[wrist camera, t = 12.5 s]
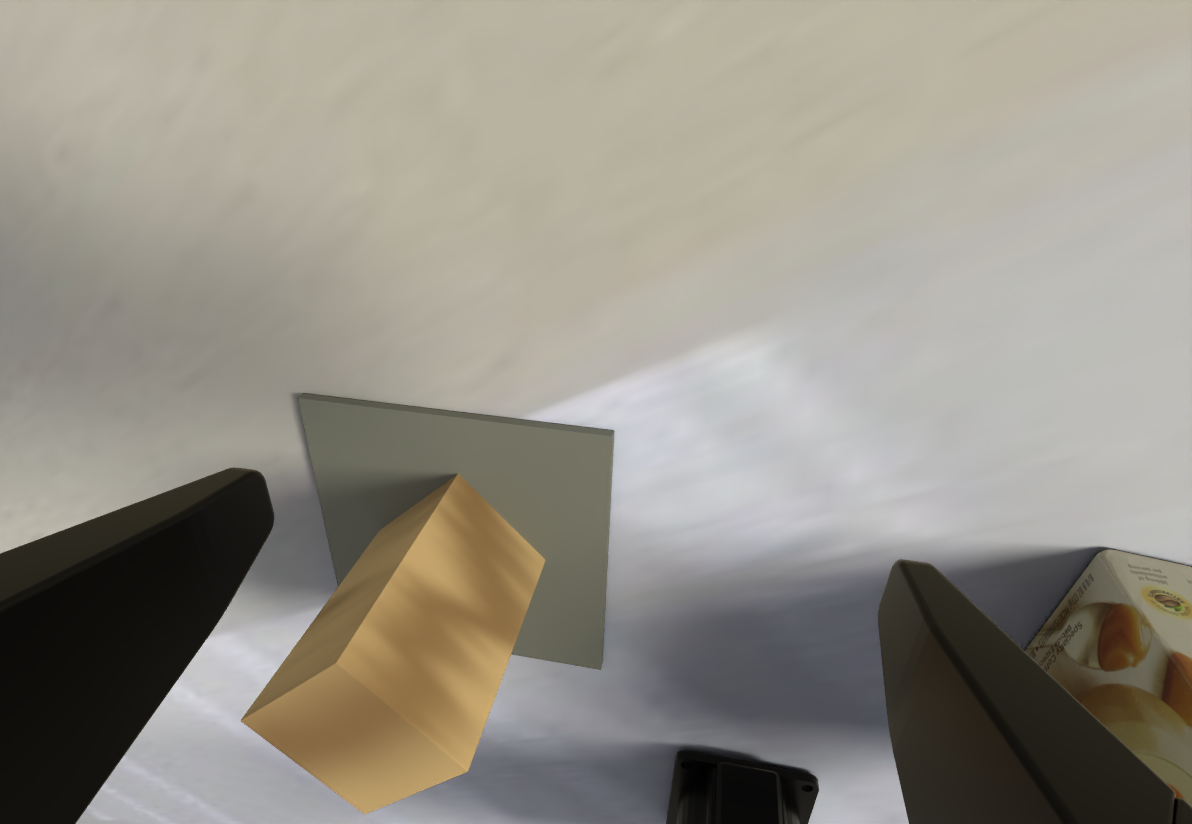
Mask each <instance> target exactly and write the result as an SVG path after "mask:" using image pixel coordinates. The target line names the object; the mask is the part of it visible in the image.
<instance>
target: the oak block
mask: <svg viewBox="0 0 1192 824" xmlns="http://www.w3.org/2000/svg"><path fill="white" fill-rule="evenodd" d="M544 563H545V559H544V558H543V557H542V556H541V555H540V554H539V553H538V552H537V551H536V550H535V549H534V548H533V547H532V546H531V545H530V544H529V543H528V542H527V541H526V540H525V539H524V538H523V537H522V536H521V535H520V534H519V533H518V532H517V531H516V530H515V529H514V528H513V527H512V526H511V525H510V524H509V523H508V522H507V521H506V520H505V519H504V518H503V517H502V516H501V515H500V514H499V513H498V512H497V511H496V510H495V509H494V508H493V507H492V506H491V505H490V504H489V503H487V502H486V501H485V500H484V499H483V498H482V497H481V496H480V495H479V494H478V493H477V492H476V491H475V490H474V489H473V488H472V487H471V486H470V485H469V484H468V483H467V482H466V481H465V480H464V479H463V478H462V477H461V476H460V475H459V474H457V475H455V476H454V477H453V478H451V479H450V480H449V481H447V482H446V483H444V484H443V485H442V486H440V487H439V488H437V489H436V490H435V491H433V492H432V493H431V494H429V495H428V496H426V497H425V498H424V499H422V500H421V501H419V502H418V503H417V504H415V505H414V506H412V507H411V508H410V509H408V510H407V511H406V512H404V513H403V514H401V515H400V516H399V517H397V518H396V519H394V520H393V521H392V522H390V523H389V524H388V525H386V526H385V527H383V528H382V529H381V530H379V532H378V533H377V535H376V536H375V537H374V539H373V540H372V541H371V543H370V544H369V546H368V547H367V548H366V550H365V551H364V552H363V554H362V555H361V556H360V558H359V559H358V561H357V562H356V563H355V565H354V566H353V567H352V569H351V570H350V572H349V573H348V574H347V576H346V577H345V578H344V580H343V581H342V582H341V584H340V585H339V587H338V588H337V589H336V591H335V592H334V593H333V595H332V596H331V598H330V599H329V600H328V602H327V603H326V604H325V606H324V607H323V609H322V610H321V611H320V613H319V614H318V615H317V617H316V618H315V619H314V621H313V622H312V624H311V625H310V626H309V628H308V629H307V630H306V632H305V633H304V635H303V636H302V637H301V639H300V640H299V641H298V643H297V644H296V645H295V647H294V648H293V650H292V651H291V652H290V654H289V655H288V656H287V658H286V659H285V661H284V662H283V663H282V665H281V666H280V667H279V669H278V670H277V672H276V673H275V674H274V676H273V677H272V678H271V680H270V681H269V682H268V684H267V685H266V687H265V688H264V689H263V691H262V692H261V693H260V695H259V696H258V698H257V699H256V700H255V702H254V703H253V704H252V706H251V707H250V708H249V710H248V711H247V713H246V714H245V715H244V717H243V718H242V719H241V722H243V723H244V724H245V725H247V726H248V727H249V728H251V729H252V730H253V731H255V732H256V733H257V734H259V735H260V736H261V737H263V738H264V739H265V740H267V741H268V742H269V743H271V744H272V745H273V746H274V747H276V748H277V749H278V750H280V751H281V752H282V753H284V754H285V755H286V756H288V757H289V758H290V759H292V760H293V761H294V762H296V763H297V764H298V765H300V766H301V767H302V768H304V769H305V770H306V771H308V772H309V773H310V774H312V775H313V776H314V777H316V778H317V779H318V780H320V781H321V782H322V783H324V784H325V785H326V786H328V787H329V788H330V789H331V790H333V791H334V792H335V793H337V794H338V795H339V796H341V797H342V798H343V799H345V800H346V801H347V802H349V803H350V804H351V805H353V806H354V807H355V808H357V809H358V810H359V811H361V812H362V813H363V814H367V813H369V812H372V811H374V810H377V809H379V808H381V807H384V806H386V805H389V804H391V803H393V802H396V801H398V800H401V799H403V798H405V797H408V796H410V795H413V794H415V793H417V792H420V791H422V790H425V789H427V788H430V787H432V786H434V785H437V784H439V783H442V782H444V781H446V780H449V779H451V778H454V777H456V776H458V775H461V774H463V773H466V772H468V770H469V767H470V765H471V762H472V759H473V756H474V754H475V751H476V748H477V746H478V743H479V740H480V737H481V735H482V732H483V729H484V726H485V724H486V721H487V718H488V716H489V713H490V710H491V707H492V705H493V702H494V699H495V697H496V694H497V691H498V688H499V686H500V683H501V680H502V677H503V675H504V672H505V669H506V667H507V664H508V661H509V658H510V656H511V653H512V650H513V647H514V645H515V642H516V639H517V637H518V634H519V631H520V628H521V626H522V623H523V620H524V617H525V615H526V612H527V609H528V607H529V604H530V601H531V598H532V596H533V593H534V590H535V587H536V585H537V582H538V579H539V577H540V574H541V571H542V568H543V566H544Z"/></svg>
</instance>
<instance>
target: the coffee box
mask: <svg viewBox="0 0 1192 824" xmlns="http://www.w3.org/2000/svg"><path fill="white" fill-rule="evenodd" d="M1025 652H1026V653H1027V654H1028V655H1029V656H1030V657H1031V658H1033V659H1034V660H1035V661H1036V662H1037V663H1038V664H1039V665H1040V666H1041V667H1042V668H1043V669H1044V670H1045V671H1046V672H1048V673H1049V674H1050V675H1051V676H1052V677H1053V678H1054V679H1055V680H1056V681H1057V682H1058V683H1059V684H1060V685H1061V686H1063V687H1064V688H1065V689H1066V690H1067V691H1068V692H1069V693H1070V694H1071V695H1072V696H1073V697H1074V698H1075V699H1076V700H1078V701H1079V702H1080V703H1081V704H1082V705H1083V706H1084V707H1085V708H1086V709H1087V710H1088V711H1089V712H1090V713H1091V714H1093V715H1094V716H1095V717H1096V718H1097V719H1098V720H1099V721H1100V722H1101V723H1102V724H1103V725H1104V726H1105V727H1106V728H1108V729H1109V730H1110V731H1111V732H1112V733H1113V734H1114V735H1115V736H1116V737H1117V738H1118V739H1119V740H1120V741H1121V742H1123V743H1124V744H1125V745H1126V746H1127V747H1128V748H1129V749H1130V750H1131V751H1132V752H1133V753H1134V754H1135V755H1136V756H1138V757H1139V758H1140V759H1141V760H1142V761H1143V762H1144V763H1145V764H1146V765H1147V766H1148V767H1149V768H1150V769H1151V770H1153V771H1154V772H1155V773H1156V774H1157V775H1158V776H1159V777H1160V778H1161V779H1162V780H1163V781H1164V782H1165V783H1166V784H1168V785H1169V786H1170V787H1171V788H1172V789H1173V790H1174V791H1175V794H1176V798H1182V799H1184V800H1185V801H1186V802H1187V803H1188V804H1189V805H1190V806H1191V807H1192V567H1190V566H1186V565H1181V564H1177V563H1172V562H1168V561H1163V560H1159V559H1154V558H1149V557H1145V556H1140V555H1136V554H1131V553H1127V552H1122V551H1117V550H1108V549H1107V550H1104V551H1102V552H1099V553H1098V554H1097V555H1096V556H1095V557H1094V559H1093V560H1092V561H1091V563H1090V564H1089V565H1088V567H1087V568H1086V569H1085V571H1084V572H1083V573H1082V575H1081V576H1080V577H1079V579H1078V580H1077V581H1076V583H1075V584H1074V585H1073V587H1072V588H1071V589H1070V591H1069V592H1068V593H1067V595H1066V596H1065V597H1064V599H1063V600H1062V602H1061V603H1060V604H1059V606H1058V607H1057V608H1056V610H1055V611H1054V612H1053V614H1052V615H1051V616H1050V618H1049V619H1048V620H1047V622H1046V623H1045V624H1044V626H1043V627H1042V628H1041V630H1040V631H1039V632H1038V634H1037V635H1036V636H1035V638H1034V639H1033V640H1032V642H1031V643H1030V645H1029V646H1028V647H1027V649H1026V650H1025ZM1176 798H1175V799H1176Z"/></svg>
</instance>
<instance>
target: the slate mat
mask: <svg viewBox="0 0 1192 824" xmlns="http://www.w3.org/2000/svg"><path fill="white" fill-rule="evenodd" d="M298 402H299V407H300V411H301V416H302V420H303V425H304V430H305V434H306V439H307V444H308V448H309V453H310V458H311V462H312V467H313V472H314V476H315V481H316V486H317V490H318V495H319V500H320V504H321V509H322V514H323V518H324V523H325V527H326V532H327V537H328V541H329V546H330V551H331V555H332V560H333V565H334V569H335V574H336V579H337V583H338V587H339V585H340V584H341V582H342V581H343V580H344V578H345V577H346V576H347V574H348V573H349V572H350V570H351V569H352V567H353V566H354V565H355V563H356V562H357V561H358V559H359V558H360V556H361V555H362V554H363V552H364V551H365V550H366V548H367V547H368V546H369V544H370V543H371V541H372V540H373V539H374V537H375V536H376V535H377V533H378V532H379V530H381V529H382V528H383V527H385V526H386V525H388V524H389V523H390V522H392V521H393V520H394V519H396V518H397V517H399V516H400V515H401V514H403V513H404V512H406V511H407V510H408V509H410V508H411V507H412V506H414V505H415V504H417V503H418V502H419V501H421V500H422V499H424V498H425V497H426V496H428V495H429V494H431V493H432V492H433V491H435V490H436V489H437V488H439V487H440V486H442V485H443V484H444V483H446V482H447V481H449V480H450V479H451V478H453V477H454V476H455V475H457V474H459V475H460V476H461V477H462V478H463V479H464V480H465V481H466V482H467V483H468V484H469V485H470V486H471V487H472V488H473V489H474V490H475V491H476V492H477V493H478V494H479V495H480V496H481V497H482V498H483V499H484V500H485V501H486V502H487V503H489V504H490V505H491V506H492V507H493V508H494V509H495V510H496V511H497V512H498V513H499V514H500V515H501V516H502V517H503V518H504V519H505V520H506V521H507V522H508V523H509V524H510V525H511V526H512V527H513V528H514V529H515V530H516V531H517V532H518V533H519V534H520V535H521V536H522V537H523V538H524V539H525V540H526V541H527V542H528V543H529V544H530V545H531V546H532V547H533V548H534V549H535V550H536V551H537V552H538V553H539V554H540V555H541V556H542V557H543V558H544V559H545V563H544V566H543V568H542V571H541V574H540V577H539V579H538V582H537V585H536V587H535V590H534V593H533V596H532V598H531V601H530V604H529V607H528V609H527V612H526V615H525V617H524V620H523V623H522V626H521V628H520V631H519V634H518V637H517V639H516V642H515V645H514V647H513V650H512V653H511V654H513V655H519V656H524V657H530V658H536V659H542V660H548V661H553V662H559V663H565V664H571V665H576V666H582V667H588V668H594V669H600V670H601V667H602V660H603V641H604V622H605V602H606V583H607V564H608V544H609V525H610V506H611V486H612V467H613V447H614V431H613V430H604V429H596V428H588V427H579V426H571V425H563V424H554V423H546V422H538V421H529V420H521V419H513V418H504V417H496V416H488V415H479V414H471V413H463V412H455V411H446V410H438V409H430V408H421V407H413V406H405V405H396V404H388V403H380V402H371V401H363V400H355V399H346V398H338V397H330V396H321V395H313V394H305V393H303V394H302V395H301V396H300V397H299V398H298Z"/></svg>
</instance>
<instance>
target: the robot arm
mask: <svg viewBox="0 0 1192 824" xmlns="http://www.w3.org/2000/svg"><path fill="white" fill-rule="evenodd" d="M273 524H274V512H273V508H272V504H271V500H270V496H269V493H268V489H267V485H266V481H265V478H264V476H263V475H262V474H261V473H260V472H259V471H256V470H251V469H244V468H229V469H226V470H223V471H221V472H218V473H215V474H213V475H210V476H207V477H205V478H202V479H199V480H197V481H194V482H191V483H189V484H186V485H183V486H181V487H178V488H175V489H172V490H170V491H167V492H164V493H162V494H159V495H156V496H154V497H151V498H148V499H146V500H143V501H140V502H138V503H135V504H132V505H130V506H127V507H124V508H121V509H119V510H116V511H113V512H111V513H108V514H105V515H103V516H100V517H97V518H95V519H92V520H89V521H87V522H84V523H81V524H79V525H76V526H73V527H70V528H68V529H65V530H62V531H60V532H57V533H54V534H52V535H49V536H46V537H44V538H41V539H38V540H36V541H33V542H30V543H28V544H25V545H22V546H19V547H17V548H14V549H11V550H9V551H6V552H3V553H1V554H0V824H76V822H77V821H78V819H79V818H80V817H81V815H82V814H83V812H84V811H85V810H86V808H87V807H88V805H89V804H90V803H91V801H92V800H93V798H94V797H95V796H96V794H97V793H98V791H99V790H100V788H101V787H102V786H103V784H104V783H105V781H106V780H107V779H108V777H109V776H110V774H111V773H112V772H113V770H114V769H115V767H116V766H117V765H118V763H119V762H120V760H121V759H122V757H123V756H124V755H125V753H126V752H127V750H128V749H129V748H130V746H131V745H132V743H133V742H134V741H135V739H136V738H137V736H138V735H139V734H140V732H141V731H142V729H143V728H144V726H145V725H146V724H147V722H148V721H149V719H150V718H151V717H152V715H153V714H154V712H155V711H156V710H157V708H158V707H159V705H160V704H161V702H162V701H163V700H164V698H165V697H166V695H167V694H168V693H169V691H170V690H171V688H172V687H173V686H174V684H175V683H176V681H177V680H178V679H179V677H180V676H181V674H182V673H183V671H184V670H185V669H186V667H187V666H188V664H189V663H190V662H191V660H192V659H193V657H194V656H195V655H196V653H197V652H198V650H199V649H200V648H201V646H202V645H203V643H204V642H205V640H206V639H207V638H208V636H209V635H210V633H211V632H212V631H213V629H214V628H215V626H216V625H217V623H218V622H219V620H220V619H221V617H222V616H223V614H224V612H225V611H226V609H227V607H228V606H229V604H230V602H231V601H232V599H233V597H234V595H235V594H236V592H237V590H238V588H239V587H240V585H241V583H242V581H243V580H244V578H245V576H246V574H247V573H248V571H249V569H250V567H251V566H252V564H253V562H254V560H255V559H256V557H257V555H258V553H259V552H260V550H261V548H262V546H263V545H264V543H265V541H266V539H267V538H268V536H269V534H270V532H271V530H272V527H273ZM878 626H879V636H880V646H881V656H882V666H883V676H884V686H885V696H886V706H887V716H888V724H889V732H890V737H891V743H892V748H893V753H894V758H895V762H896V767H897V771H898V776H899V780H900V785H901V789H902V794H903V798H904V803H905V807H906V812H907V816H908V821H909V824H1192V807H1191V806H1190V805H1189V804H1188V803H1187V802H1186V801H1185V800H1184V799H1182V798H1176V794H1175V791H1174V790H1173V789H1172V788H1171V787H1170V786H1169V785H1168V784H1166V783H1165V782H1164V781H1163V780H1162V779H1161V778H1160V777H1159V776H1158V775H1157V774H1156V773H1155V772H1154V771H1153V770H1151V769H1150V768H1149V767H1148V766H1147V765H1146V764H1145V763H1144V762H1143V761H1142V760H1141V759H1140V758H1139V757H1138V756H1136V755H1135V754H1134V753H1133V752H1132V751H1131V750H1130V749H1129V748H1128V747H1127V746H1126V745H1125V744H1124V743H1123V742H1121V741H1120V740H1119V739H1118V738H1117V737H1116V736H1115V735H1114V734H1113V733H1112V732H1111V731H1110V730H1109V729H1108V728H1106V727H1105V726H1104V725H1103V724H1102V723H1101V722H1100V721H1099V720H1098V719H1097V718H1096V717H1095V716H1094V715H1093V714H1091V713H1090V712H1089V711H1088V710H1087V709H1086V708H1085V707H1084V706H1083V705H1082V704H1081V703H1080V702H1079V701H1078V700H1076V699H1075V698H1074V697H1073V696H1072V695H1071V694H1070V693H1069V692H1068V691H1067V690H1066V689H1065V688H1064V687H1063V686H1061V685H1060V684H1059V683H1058V682H1057V681H1056V680H1055V679H1054V678H1053V677H1052V676H1051V675H1050V674H1049V673H1048V672H1046V671H1045V670H1044V669H1043V668H1042V667H1041V666H1040V665H1039V664H1038V663H1037V662H1036V661H1035V660H1034V659H1033V658H1031V657H1030V656H1029V655H1028V654H1027V653H1026V652H1025V651H1024V650H1023V649H1022V648H1021V647H1020V646H1019V645H1018V644H1016V643H1015V642H1014V641H1013V640H1012V639H1011V638H1010V637H1009V636H1008V635H1007V634H1006V633H1005V632H1004V631H1003V630H1001V629H1000V628H999V627H998V626H997V625H996V624H995V623H994V622H993V621H992V620H991V619H990V618H989V617H988V616H986V615H985V614H984V613H983V612H982V611H981V610H980V609H979V608H978V607H977V606H976V605H975V604H974V603H973V602H971V601H970V600H969V599H968V598H967V597H966V596H965V595H964V594H963V593H962V592H961V591H960V590H959V589H958V588H956V587H955V586H954V585H953V584H952V583H951V582H950V581H949V580H948V579H947V578H946V577H945V576H944V575H943V574H941V573H940V572H939V571H938V570H937V569H936V568H935V567H934V566H932V565H931V564H929V563H925V562H918V561H911V560H903V559H900V560H898V561H896V562H895V563H894V565H893V566H892V569H891V571H890V575H889V578H888V581H887V584H886V587H885V590H884V593H883V596H882V599H881V602H880V606H879V612H878ZM818 791H819V786H818V779H817V778H816V777H815V776H814V775H812V774H809V773H803V772H798V771H793V770H787V769H782V768H777V767H771V766H766V765H761V764H755V763H750V762H744V761H739V760H734V759H728V758H723V757H718V756H712V755H707V754H702V753H696V752H691V751H680V752H678V753H677V754H676V758H675V765H674V772H673V779H672V786H671V793H670V800H669V806H668V813H667V820H666V824H808V822H809V819H810V816H811V813H812V810H813V806H814V803H815V800H816V797H817V794H818ZM1175 798H1176V799H1175Z"/></svg>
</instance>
